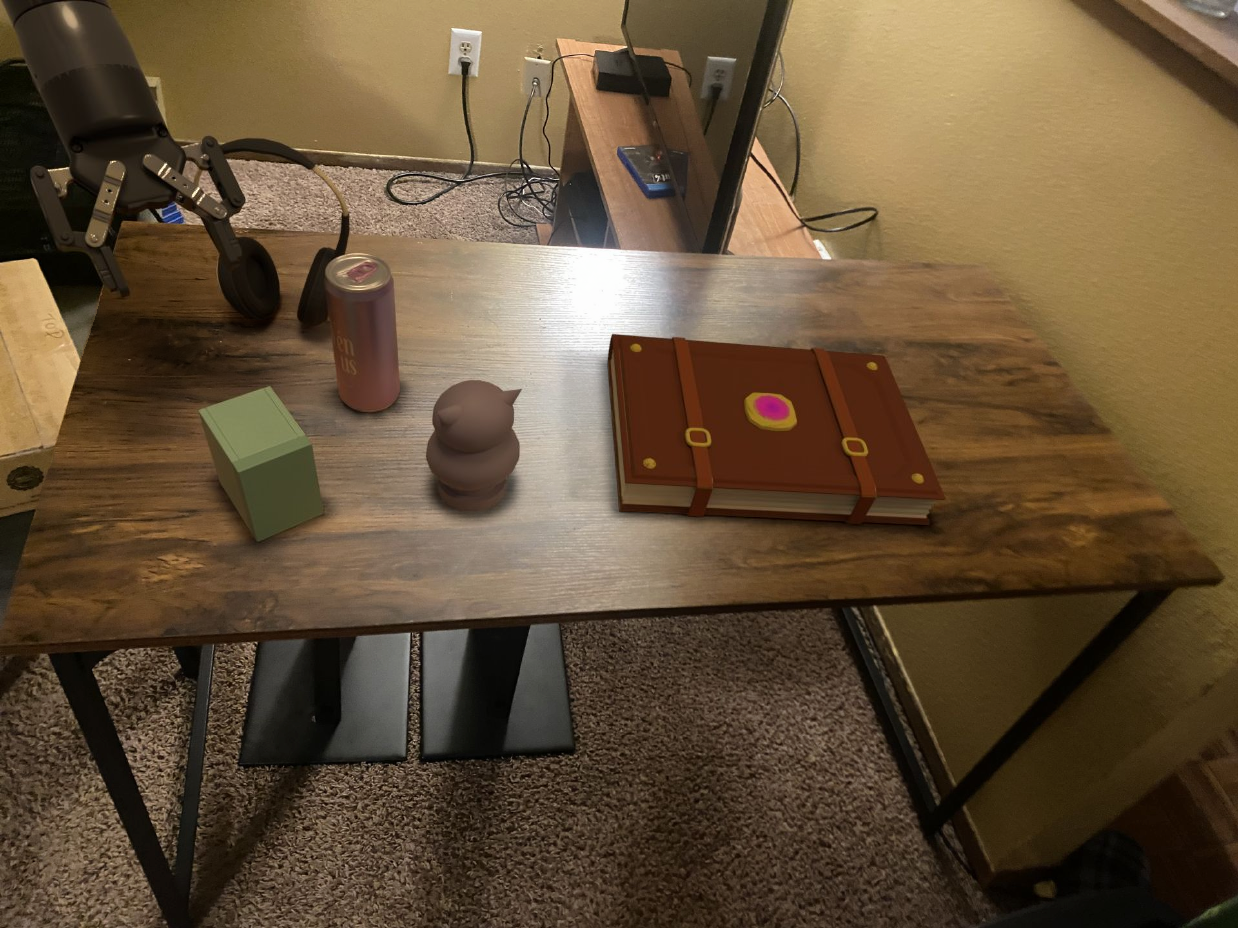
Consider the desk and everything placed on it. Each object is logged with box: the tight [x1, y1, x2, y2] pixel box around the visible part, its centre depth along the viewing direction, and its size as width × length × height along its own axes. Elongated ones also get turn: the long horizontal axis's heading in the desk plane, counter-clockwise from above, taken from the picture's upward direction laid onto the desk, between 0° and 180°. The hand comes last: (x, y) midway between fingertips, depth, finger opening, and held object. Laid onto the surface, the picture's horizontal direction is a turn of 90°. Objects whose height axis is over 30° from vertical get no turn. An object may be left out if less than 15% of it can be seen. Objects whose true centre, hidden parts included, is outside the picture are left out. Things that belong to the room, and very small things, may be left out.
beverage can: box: [324, 252, 401, 413], centre depth 79 cm, size 6×6×15 cm
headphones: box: [192, 137, 351, 328], centre depth 84 cm, size 9×15×20 cm, turn 90°
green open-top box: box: [198, 385, 325, 543], centre depth 71 cm, size 8×6×9 cm
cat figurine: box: [425, 379, 523, 513], centre depth 74 cm, size 8×8×12 cm
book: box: [607, 333, 947, 526], centre depth 87 cm, size 23×32×5 cm
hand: (181, 281), depth 68 cm, fingers open, 8 cm apart
